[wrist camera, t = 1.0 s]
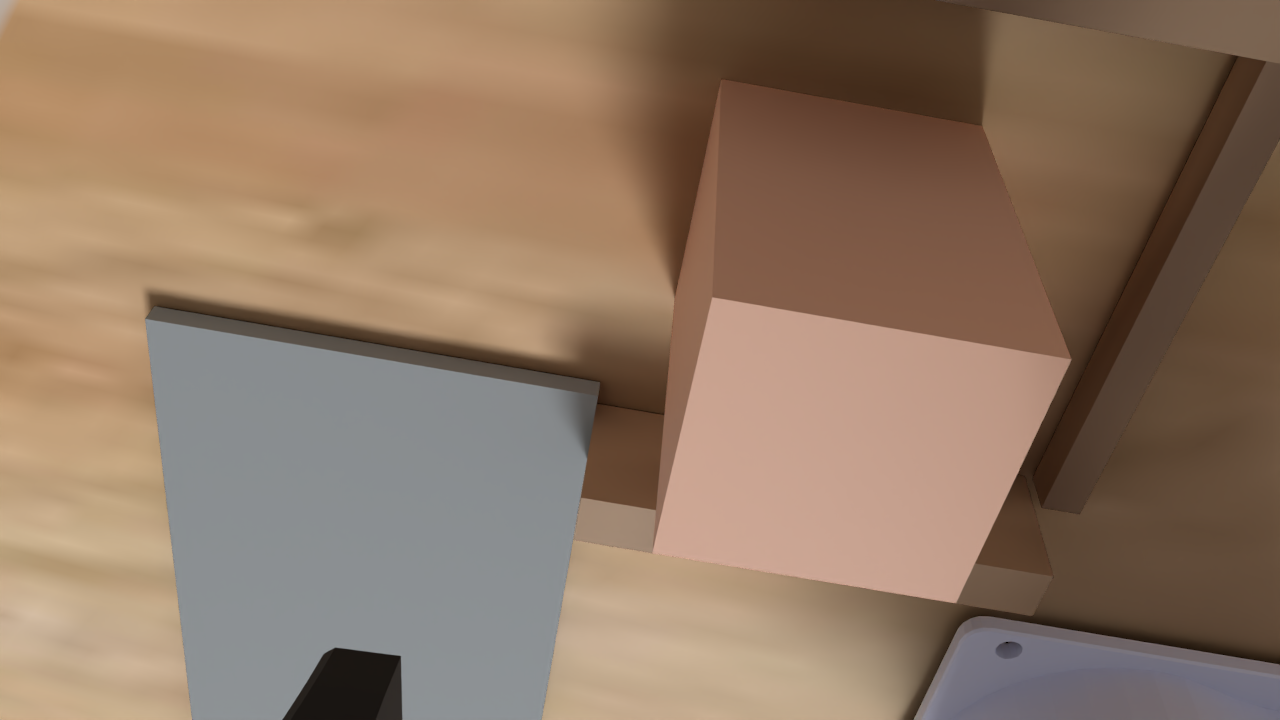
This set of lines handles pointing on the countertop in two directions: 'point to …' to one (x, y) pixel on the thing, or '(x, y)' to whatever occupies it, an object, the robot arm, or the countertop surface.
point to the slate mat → (364, 515)
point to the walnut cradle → (1132, 341)
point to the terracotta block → (850, 348)
